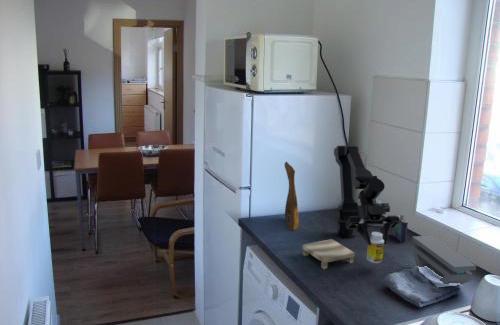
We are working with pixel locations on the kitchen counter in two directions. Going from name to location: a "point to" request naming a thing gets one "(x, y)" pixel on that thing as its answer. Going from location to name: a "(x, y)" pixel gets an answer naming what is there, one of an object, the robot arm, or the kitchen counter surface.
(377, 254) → the supplement bottle
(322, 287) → the kitchen counter surface
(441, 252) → the sharpening stone
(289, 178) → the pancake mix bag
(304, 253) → the beige wooden stand
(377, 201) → the canned tomato
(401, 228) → the flask
